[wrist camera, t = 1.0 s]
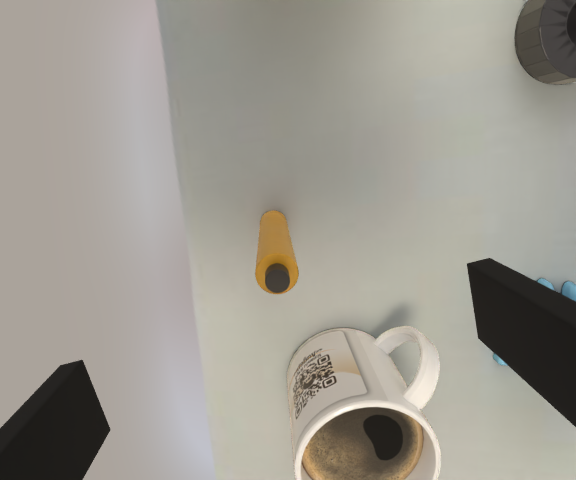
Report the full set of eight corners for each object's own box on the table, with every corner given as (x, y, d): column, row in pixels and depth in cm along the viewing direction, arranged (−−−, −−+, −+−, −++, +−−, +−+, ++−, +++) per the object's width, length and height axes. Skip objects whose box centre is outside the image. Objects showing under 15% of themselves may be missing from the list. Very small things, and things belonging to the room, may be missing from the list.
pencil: (257, 214, 34) (249, 266, 20) (283, 207, 34) (294, 254, 20) (263, 239, 35) (261, 308, 20) (289, 232, 35) (305, 297, 20)
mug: (274, 333, 37) (277, 411, 26) (406, 303, 37) (464, 369, 26) (299, 433, 39) (311, 542, 28) (423, 404, 39) (482, 503, 28)
